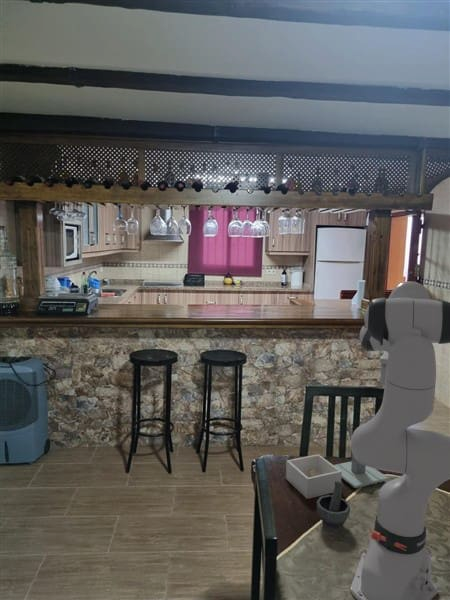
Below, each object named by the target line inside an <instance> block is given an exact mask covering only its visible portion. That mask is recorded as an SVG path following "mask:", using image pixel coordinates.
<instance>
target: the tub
mask: <svg viewBox="0 0 450 600" xmlns="http://www.w3.org/2000/svg"><path fill="white" fill-rule="evenodd" d="M285 463H286V465H285V467H286V468H285V479H286V480H287V481H288V482H289V484H291V485H292V486H293V487H294V488H295V489H297V491H298V492H299V493H300V494H301V495H303V497H305V499H308V500H309V499H312V498H315V497H322V496H326V495H330V494H333V491H334V487H335V484H334V483H335V481H339V482H342V479H343V478H342V471H340V470H339V469H338V468H336V467H335V466H334V465H335V464H333V463H331V462H330V461H328V459H325V457H323V456H321V455H320V454H319V453H317V454H312V455H308V456H303V457H297V458H292V459H288V460H287V459H286V462H285Z"/></svg>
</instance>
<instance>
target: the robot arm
mask: <svg viewBox="0 0 450 600" xmlns="http://www.w3.org/2000/svg"><path fill="white" fill-rule="evenodd" d="M363 317H364V324H363V325H362V327H361V329H360V331H359V342H360V346H362V348H364V350H365V351H367V352H383V354H382V355H381V356H380V359H379V364H381V365H380V384H381V386H382V387H384V390H383V396H382V402H381V405H380V407H379V409H378V411H377V412H376V414H375V415H374V416H373V417H372V418H370V419H369V420H368V421H367V422H364V423H362V424H360V425H359V426H358V427H357V428H355V430H354V431H353V433H352V434H351V437H350V450H351V454H352V453H353V456H354V457H355V459H356V460H357V462H358V463H360V464H363V465H365V466H368V467H371V468H374V469H376V470H378V471H385V472H390V473H397V474H402V475H401V476H400V477H397V478H395V479H392V480H387V481H386V482H385V483H384V484H383V485H382V487H380V489H379V491H378V497H377V498H378V500H377V501H378V503H377V514H376V515H375V521H374V525H373V530H371V534H370V535H371V536H370V540H369V543H368V545H367V546H368V547H367V549H365V552H363V553H362V554H361V557H360V560H359V563H358V565H357V569H356V571H355V574H354V577H353V579H352V582H351V585H350V593H351V595H353V597H354V598H355V599H356V600H432V599H433V598H434V597H435V596H436V595H438V588H437V585H436V584H435V583H434V582H433V581H432V557H431V555H430V553H429V551H428V549H427V547H426V543H427V542H426V540H427V529H426V526H425V524H426V523H425V522H426V513H427V507H428V503H429V500H430V498H431V496H432V494H433V493H434V491H436V489H438V487H440V486H441V485H442V484H443V483H445V482H447V481H449V480H450V435H447V434H443V433H440V432H436V431H433V430H425V429H417V428H410V427H412V426H414V425H417V424H420V423H422V422H424V421H425V420H427V419H428V418H429V417H430V416H431V414H432V413H433V410H434V405H435V394H436V383H437V382H436V381H437V361H436V360H437V359H436V353H435V352H436V351H435V347H434V345H433V344H439V345H444V344H450V302H449V301H446V300H443V299H441V298H438V299H430V294H429V292H428V289H427V288H426V287H425V286H424V285H422V284H421V283H419V282H418V281H403V282H401V283H399V284H397V285H396V286H395V287H394V288H393V289H392V291H391V293H390V295H389V296H388V298H386V297H379V298H374V299H372V300H371V301H369V302H368V305H367V307H366V309H365V311H364V316H363Z"/></svg>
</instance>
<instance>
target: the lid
mask: <svg viewBox="0 0 450 600" xmlns="http://www.w3.org/2000/svg"><path fill="white" fill-rule="evenodd" d="M333 465H334V466H335V467H336V468H338V469H339V470H340V471H342V478H341V479H343V480H344V481H345V482H346V483H348V484H350V486H351V487H352V488H355V489H359V488H362V487H367V486H370V484H371V485H375V484H378V482H379V483H382V482H387V481H390V480H389V479H390V477H388V476H387V475H385V474H383V473H382V472H381V471H380V470H377V469H374V468H371V467H368V466H365V465H363V464H360V463H358V462H357V460H356V459H355V457H354V456H353V453H352V452H351V461H347V462H342V463H341V462H340V463H337V464H333ZM374 483H375V484H374Z"/></svg>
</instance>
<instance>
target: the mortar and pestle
mask: <svg viewBox="0 0 450 600" xmlns="http://www.w3.org/2000/svg"><path fill="white" fill-rule="evenodd" d="M334 484H335V487H334V491H333V493H332V495H330V494H325V495H321V496H319V497H318V499H317V501H316V510H317V511H316V512H317V513H318V516H319V517H320V519H321V525H322V526H323V528H324V529H325V530H327V531H328V532H334V533H337V532H338V533H339V532H340V531H342V530H343V528H344V524H345V523H346V522H347V519H348V518H349V516H350V513H351V506H350V504H349V501H347V500H346V499H344V498H343V497H342V495H343V488H344V487H345V486H344V483H343V482H342V481H341V482H339V481H335V483H334Z"/></svg>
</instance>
